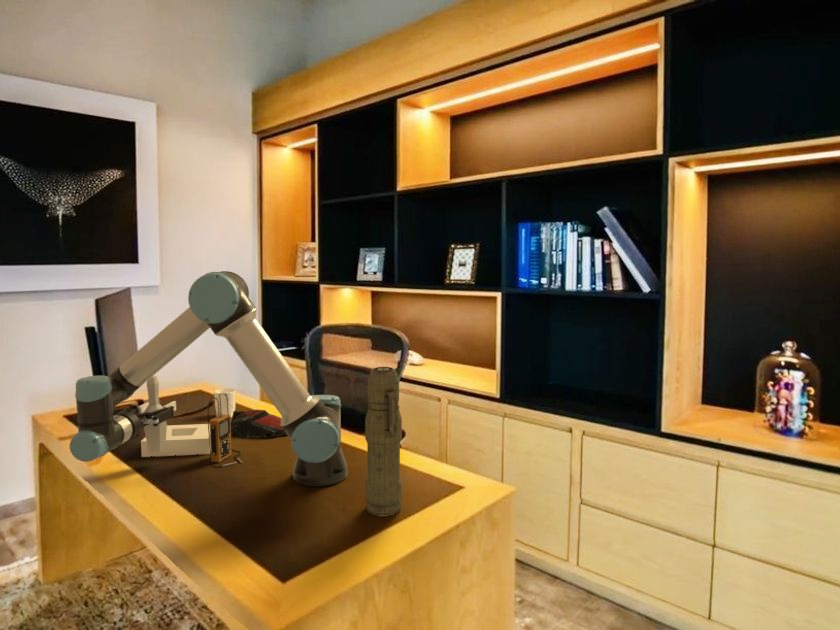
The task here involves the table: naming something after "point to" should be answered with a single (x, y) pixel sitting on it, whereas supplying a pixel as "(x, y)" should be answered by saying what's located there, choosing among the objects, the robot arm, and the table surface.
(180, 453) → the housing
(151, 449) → the low poly bottle
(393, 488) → the thermos
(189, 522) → the table surface
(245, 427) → the drone shell
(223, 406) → the white cup
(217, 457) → the multimeter
